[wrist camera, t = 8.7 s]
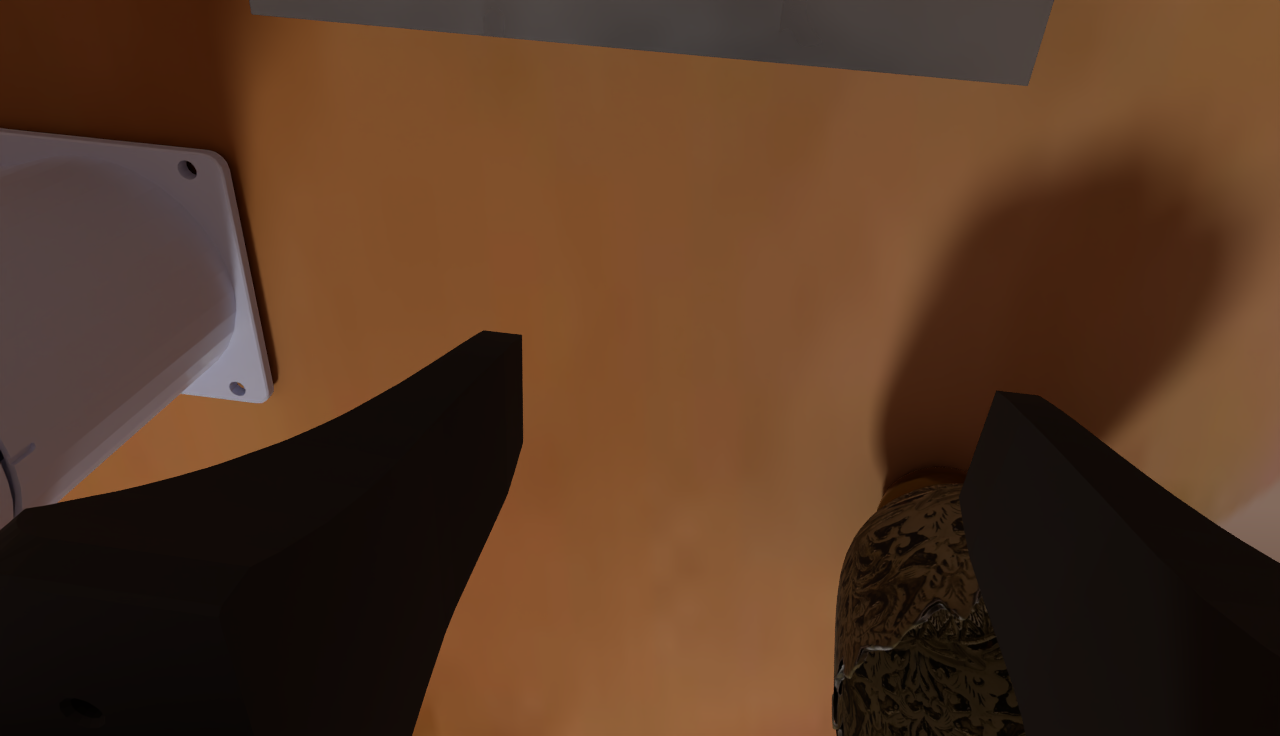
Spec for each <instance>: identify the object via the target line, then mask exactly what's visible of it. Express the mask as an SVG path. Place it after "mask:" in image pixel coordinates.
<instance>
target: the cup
mask: <svg viewBox="0 0 1280 736" xmlns="http://www.w3.org/2000/svg"><path fill="white" fill-rule="evenodd" d="M966 475H967V472H965V471H962V470H959V469H955V468H950V467H929V468H923V469H919V470H916V471H913V472H911V473H908V474H906V475H904V476H903V477H901V478H900V479H898V480H897V481H896V482H894V483H893V484H892V485H891V486H890V487H889V489H888V490H887V491H886V493H885V494H884V496H883V497H882V499H881V501H880V504H879V506H878V509H877V512H876V513H875V514H874V515H873V516H871V517H870V518H869V520H868V521H867V522H866V523H865V524H864V525H863V526H862V527H861V529H860V530H859V531H858V533H857V534H856V536H855V538H854V540H853V542H852V544H851V545H850V548H849V550H848V552H847V554H846V557H845V560H844V563H843V567H842V571H841V575H840V581H839V588H838V595H837V605H836V623H835V654H834V694H832V724H833V729H836V734H837V736H1026V735H1025V730H1024V726H1023V721H1022V717H1021V713H1020V710H1019V706H1018V703H1017V699H1016V696H1015V692H1014V689H1013V685H1012V682H1011V679H1010V677H1009V674H1008V671H1007V668H1006V665H1005V662H1004V659H1003V656H1002V653H1001V650H1000V647H999V644H998V641H997V638H996V635H995V633H994V630H993V627H992V624H991V621H990V618H989V615H988V612H987V609H986V606H985V603H984V600H983V597H982V594H981V591H980V588H979V585H978V582H977V579H976V576H975V573H974V570H973V567H972V564H971V560H970V557H969V554H968V548H967V543H966V538H965V533H964V527H963V521H962V514H961V508H960V501H959V495H960V492H961V489H962V487H963V484H964V481H965V478H966ZM834 720H835V722H834Z"/></svg>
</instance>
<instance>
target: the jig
mask: <svg viewBox="0 0 1280 736" xmlns="http://www.w3.org/2000/svg"><path fill="white" fill-rule="evenodd" d="M249 2H250V8H251V13H252V14H254V15H265V16H276V17H287V18H298V19H308V20H319V21H330V22H341V23H352V24H363V25H373V26H384V27H395V28H406V29H417V30H428V31H438V32H449V33H460V34H471V35H482V36H493V37H503V38H514V39H525V40H536V41H547V42H558V43H568V44H579V45H590V46H601V47H612V48H623V49H633V50H644V51H655V52H666V53H677V54H688V55H698V56H709V57H720V58H731V59H742V60H753V61H763V62H774V63H785V64H796V65H807V66H818V67H828V68H839V69H850V70H861V71H872V72H883V73H893V74H904V75H915V76H926V77H937V78H948V79H958V80H969V81H980V82H991V83H1002V84H1013V85H1023V86H1028V84H1029V80H1030V77H1031V74H1032V70H1033V67H1034V64H1035V61H1036V57H1037V54H1038V51H1039V48H1040V44H1041V41H1042V38H1043V35H1044V31H1045V28H1046V25H1047V21H1048V18H1049V15H1050V12H1051V8H1052V5H1053V2H1054V0H249Z"/></svg>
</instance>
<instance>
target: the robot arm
mask: <svg viewBox="0 0 1280 736" xmlns="http://www.w3.org/2000/svg"><path fill="white" fill-rule="evenodd" d="M187 161H188V162H190V163H191V164H193V165H194V167H195V169H196V171H197V175H195V174H193V173H192V172H191V171H190V170H189V169H188V167H187V165H186V164H187ZM237 382H238V383H241V384H242V385H243V386H244V388H245V389H244V388H241V387H240V386H239V385H238V384H237ZM273 392H274V386H273V381H272V376H271V371H270V366H269V361H268V356H267V351H266V346H265V341H264V336H263V332H262V327H261V322H260V317H259V312H258V307H257V302H256V297H255V292H254V287H253V282H252V277H251V272H250V267H249V262H248V257H247V252H246V247H245V242H244V237H243V232H242V227H241V222H240V218H239V213H238V208H237V203H236V198H235V193H234V188H233V183H232V178H231V173H230V169H229V166H228V164H227V162H226V161H225V160H224V158H223V157H222V156H220V155H219V154H218V153H216V152H214V151H210V150H204V149H195V148H185V147H175V146H166V145H156V144H147V143H137V142H128V141H118V140H108V139H99V138H89V137H80V136H70V135H61V134H51V133H42V132H32V131H22V130H13V129H3V128H0V736H412V734H413V731H414V727H415V724H416V721H417V718H418V715H419V712H420V708H421V705H422V702H423V699H424V696H425V693H426V689H427V686H428V683H429V680H430V677H431V674H432V671H433V668H434V665H435V662H436V659H437V656H438V653H439V650H440V648H441V645H442V642H443V639H444V636H445V633H446V630H447V628H448V625H449V623H450V620H451V618H452V615H453V613H454V610H455V608H456V606H457V604H458V601H459V599H460V597H461V595H462V593H463V591H464V588H465V586H466V584H467V582H468V580H469V578H470V575H471V573H472V571H473V569H474V567H475V565H476V562H477V560H478V558H479V556H480V554H481V552H482V549H483V547H484V545H485V543H486V541H487V539H488V536H489V534H490V532H491V530H492V528H493V526H494V523H495V521H496V519H497V517H498V514H499V512H500V510H501V508H502V506H503V503H504V501H505V499H506V497H507V494H508V491H509V488H510V485H511V481H512V478H513V475H514V472H515V468H516V465H517V461H518V458H519V454H520V451H521V448H522V444H523V387H522V335H518V334H509V333H501V332H492V331H482V332H480V333H478V334H476V335H475V336H473V337H471V338H470V339H468V340H467V341H465V342H463V343H462V344H460V345H459V346H457V347H456V348H454V349H453V350H451V351H450V352H448V353H447V354H445V355H444V356H442V357H440V358H439V359H437V360H436V361H434V362H433V363H431V364H429V365H428V366H426V367H425V368H423V369H422V370H420V371H418V372H417V373H415V374H414V375H412V376H410V377H409V378H407V379H406V380H404V381H402V382H401V383H399V384H397V385H396V386H394V387H392V388H390V389H388V390H387V391H385V392H383V393H381V394H379V395H378V396H376V397H374V398H372V399H371V400H369V401H367V402H365V403H363V404H362V405H360V406H358V407H356V408H355V409H353V410H351V411H349V412H347V413H345V414H343V415H341V416H339V417H337V418H335V419H333V420H331V421H329V422H326V423H324V424H322V425H320V426H318V427H315V428H313V429H311V430H308V431H306V432H304V433H302V434H299V435H297V436H295V437H292V438H290V439H288V440H285V441H283V442H280V443H277V444H274V445H272V446H269V447H266V448H263V449H260V450H258V451H255V452H252V453H249V454H246V455H243V456H241V457H238V458H235V459H232V460H229V461H227V462H224V463H221V464H218V465H215V466H211V467H208V468H205V469H201V470H198V471H194V472H191V473H187V474H184V475H181V476H177V477H173V478H169V479H165V480H161V481H158V482H154V483H150V484H146V485H142V486H138V487H133V488H129V489H125V490H121V491H116V492H111V493H106V494H101V495H96V496H90V497H85V498H80V499H75V500H70V501H65V502H60V503H57V502H58V501H60V500H61V499H62V498H63V497H64V496H65V495H66V494H67V493H69V492H70V491H71V490H72V489H73V488H74V487H75V486H76V485H78V484H79V483H80V482H81V481H82V480H83V479H84V478H86V477H87V476H88V475H89V474H90V473H91V472H92V471H93V470H95V469H96V468H97V467H98V466H99V465H100V464H101V463H103V462H104V461H105V460H106V459H107V458H108V457H109V456H110V455H112V454H113V453H114V452H115V451H116V450H117V449H118V448H119V447H121V446H122V445H123V444H124V443H125V442H126V441H127V440H129V439H130V438H131V437H132V436H133V435H134V434H135V433H136V432H138V431H139V430H140V429H141V428H142V427H143V426H144V425H145V424H147V423H148V422H149V421H150V420H151V419H152V418H153V417H155V416H156V415H157V414H158V413H159V412H160V411H161V410H162V409H164V408H165V407H166V406H167V405H168V404H169V403H170V402H171V401H173V400H174V399H175V398H176V397H177V396H178V395H179V394H188V395H196V396H204V397H212V398H220V399H228V400H235V401H243V402H251V403H263V402H265V401H266V400H267V399H268V398H269V397H270V396H271V395H272V393H273ZM959 501H960V508H961V514H962V521H963V527H964V533H965V538H966V543H967V548H968V554H969V557H970V560H971V564H972V567H973V570H974V573H975V576H976V579H977V582H978V585H979V588H980V591H981V594H982V597H983V600H984V603H985V606H986V609H987V612H988V615H989V618H990V621H991V624H992V627H993V630H994V633H995V635H996V638H997V641H998V644H999V647H1000V650H1001V653H1002V656H1003V659H1004V662H1005V665H1006V668H1007V671H1008V674H1009V677H1010V679H1011V682H1012V685H1013V689H1014V692H1015V696H1016V699H1017V703H1018V706H1019V710H1020V713H1021V717H1022V721H1023V726H1024V730H1025V735H1026V736H1280V563H1278V562H1277V561H1275V560H1273V559H1272V558H1270V557H1268V556H1267V555H1265V554H1263V553H1262V552H1260V551H1258V550H1257V549H1255V548H1253V547H1251V546H1250V545H1248V544H1246V543H1245V542H1243V541H1241V540H1240V539H1238V538H1237V537H1235V536H1234V535H1232V534H1230V533H1229V532H1227V531H1226V530H1224V529H1223V528H1221V527H1220V526H1218V525H1216V524H1215V523H1213V522H1212V521H1211V520H1209V519H1208V518H1206V517H1205V516H1203V515H1202V514H1200V513H1199V512H1197V511H1196V510H1195V509H1193V508H1192V507H1190V506H1189V505H1187V504H1186V503H1184V502H1183V501H1181V500H1180V499H1178V498H1177V497H1176V496H1174V495H1173V494H1171V493H1170V492H1169V491H1167V490H1166V489H1164V488H1163V487H1162V486H1160V485H1159V484H1158V483H1156V482H1155V481H1153V480H1152V479H1151V478H1149V477H1148V476H1147V475H1145V474H1144V473H1143V472H1141V471H1140V470H1139V469H1137V468H1136V467H1135V466H1133V465H1132V464H1131V463H1129V462H1128V461H1127V460H1126V459H1124V458H1123V457H1122V456H1120V455H1119V454H1118V453H1116V452H1115V451H1114V450H1112V449H1111V448H1110V447H1109V446H1107V445H1106V444H1105V443H1103V442H1102V441H1101V440H1100V439H1098V438H1097V437H1096V436H1094V435H1093V434H1092V433H1090V432H1089V431H1088V430H1087V429H1085V428H1084V427H1083V426H1081V425H1080V424H1079V423H1077V422H1076V421H1075V420H1073V419H1072V418H1071V417H1069V416H1068V415H1067V414H1065V413H1064V412H1063V411H1061V410H1060V409H1058V408H1057V407H1056V406H1054V405H1053V404H1051V403H1050V402H1048V401H1047V400H1045V399H1043V398H1042V397H1040V396H1037V395H1029V394H1020V393H1012V392H1003V391H996V393H995V396H994V399H993V402H992V405H991V407H990V410H989V413H988V416H987V419H986V422H985V424H984V427H983V430H982V433H981V436H980V439H979V441H978V444H977V447H976V450H975V453H974V456H973V458H972V461H971V464H970V467H969V470H968V472H967V475H966V478H965V481H964V484H963V487H962V489H961V492H960V495H959Z"/></svg>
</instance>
